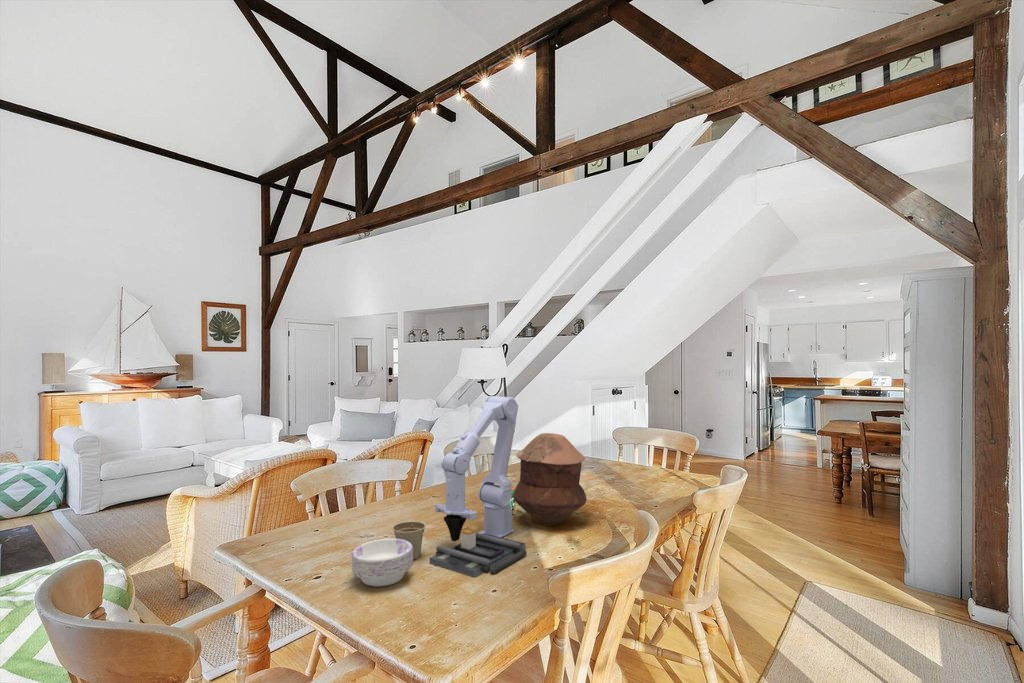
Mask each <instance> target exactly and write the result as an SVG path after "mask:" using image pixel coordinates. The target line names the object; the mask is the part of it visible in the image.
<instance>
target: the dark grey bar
mask: <svg viewBox="0 0 1024 683" xmlns="http://www.w3.org/2000/svg"><path fill="white" fill-rule="evenodd" d="M476 538H477V539H481V540H485V541H488V542H492V543H496V544H500V545H504V546H508V547H512V548H515V549H516V554H517V553H518V552H520V551H521V544H520V543H516V542H512V541H508V540H504V539H500V538H496V537H492V536H488V535H484V534H480V533H479V532H476Z"/></svg>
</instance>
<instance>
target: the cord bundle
mask: <svg viewBox="0 0 1024 683" xmlns="http://www.w3.org/2000/svg"><path fill="white" fill-rule="evenodd" d="M435 550H436V552H435V554H434V555H437V554H439V553H441V554H448V555H451V556H452V557H455V558H458V559H462V560H465V561H468V562H475V563H479V565H482V566H484V573H490V574H491V575H494V574H496V573H498V572H500V571H502V570H503V569H505V568H506V567H509V566H510V565H512V564H513V563H515V562H517V561H518V560H520V559H521V558H523V557H525V556H526V555H527V551H526V550H525V549H524V550H522V551H520V552H518V553H517V554H515V555H513V556H511V557H509V558H508V559H506V560H504V561H502V562H501V563H499V564H497V565H495V566H494V567H492V568H491V569H490V564H491V561H490V560H488V559H485V558H481V557H478V556H474V555H471V554H467V553H463V552H460V551H456V550H453V549H449V547H445V546H441V545H437V546H436V547H435Z"/></svg>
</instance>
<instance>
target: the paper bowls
mask: <svg viewBox="0 0 1024 683" xmlns="http://www.w3.org/2000/svg"><path fill="white" fill-rule="evenodd" d="M413 564H414V559H413V547H412V544H411V543H410V542H408V541H406V540H402V539H396V538H380V539H375V540H374V539H373V540H371V541H367V542H364V543H362V544H360V545H357V546H356V547H355V548H354V549H353V550H352V552H351V572H352V573H353V575H354V576H356V577H357V578H360V580H361V581H362V582H363V584H365V585H367V586H370V587H379V588H380V587H386V586H391V585H394V584H396V583H398V582H399V581H401V580H402V578H403V577H404V576H405V573H406V572H408V571H409V570H410V569H411V568H412V567H413Z"/></svg>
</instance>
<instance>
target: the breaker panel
mask: <svg viewBox="0 0 1024 683" xmlns="http://www.w3.org/2000/svg"><path fill="white" fill-rule="evenodd" d="M482 534H484V535H488V536H492V537H496V538H500V539H504V540H508V541H512V542H516V543H520V544H521V551H522V550H525V549H526V548H527V546H526V545H527V544H526V542H521V541H517V540H513V539H509V538H505V537H498V536H494V535H490V534H486V533H482ZM448 548H449V547H448ZM449 549H453V550H456V551H460V552H463V553H467V554H471V555H474V556H478V557H481V558H485V559H488V560H490V561H491V564H490V569H491V568H492V567H494V566H495V565H497V564H499V563H501V562H502V561H504V560H506V559H508V558H509V557H511V556H513V555H515V554H516V549H515V548H512V547H508V546H504V545H500V544H496V543H492V542H488V541H485V540H481V539H477V538H476V547H474V548H472V549H470V550H469V549H465V548H462V547H461V542H460V543H458V544H456V545H454V546H452V547H450V548H449ZM429 564H430V565H433V564H434V566H437V567H440V568H442V569H443V568H444V569H446V570H450V571H453V572H456V573H459V574H463V575H465V576H469V577H471V578H477V577H478V576H481V575H482V574H483V573H485V572H484V566H482V565H479V563H475V562H468V561H465V560H462V559H458V558H455V557H452V556H451V555H448V554H441V553H439V554H437V555H435V554H434V555H433V556H430V557H429Z"/></svg>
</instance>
